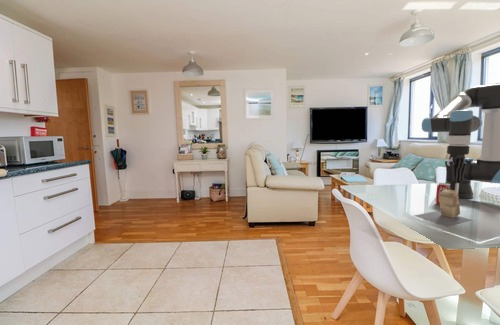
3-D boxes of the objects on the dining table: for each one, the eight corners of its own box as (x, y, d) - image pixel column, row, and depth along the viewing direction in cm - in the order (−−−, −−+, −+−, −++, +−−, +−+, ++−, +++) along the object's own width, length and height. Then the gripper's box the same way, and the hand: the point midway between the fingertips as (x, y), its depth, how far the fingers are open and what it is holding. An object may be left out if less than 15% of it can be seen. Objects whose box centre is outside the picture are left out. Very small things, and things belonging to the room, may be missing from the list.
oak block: (447, 210, 114) (445, 189, 111) (460, 213, 109) (457, 191, 106) (441, 215, 112) (438, 193, 109) (453, 218, 107) (450, 196, 105)
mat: (438, 211, 118) (438, 210, 118) (472, 221, 105) (473, 220, 105) (413, 216, 112) (413, 215, 112) (447, 227, 99) (447, 226, 99)
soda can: (455, 208, 123) (457, 185, 122) (439, 207, 125) (441, 185, 123) (447, 204, 130) (449, 182, 129) (432, 203, 132) (434, 182, 130)
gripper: (457, 144, 113) (452, 193, 115) (439, 145, 108) (435, 196, 111) (477, 145, 106) (471, 197, 108) (459, 146, 101) (453, 200, 104)
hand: (453, 196), depth 110 cm, fingers closed
